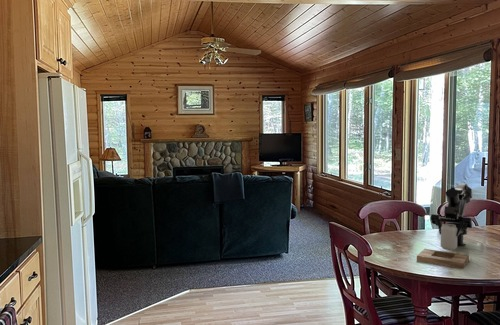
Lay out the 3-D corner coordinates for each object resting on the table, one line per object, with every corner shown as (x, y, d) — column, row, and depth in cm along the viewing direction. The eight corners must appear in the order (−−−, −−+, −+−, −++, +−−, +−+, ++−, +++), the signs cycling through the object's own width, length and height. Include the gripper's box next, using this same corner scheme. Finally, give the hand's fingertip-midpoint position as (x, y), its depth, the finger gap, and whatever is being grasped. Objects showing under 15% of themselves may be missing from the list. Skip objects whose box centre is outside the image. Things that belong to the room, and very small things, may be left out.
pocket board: (424, 253, 211) (424, 248, 211) (468, 260, 199) (468, 255, 199) (416, 260, 199) (416, 255, 199) (463, 268, 187) (463, 262, 187)
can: (459, 250, 206) (459, 226, 205) (442, 250, 207) (443, 226, 206) (454, 246, 213) (455, 223, 212) (438, 246, 214) (439, 222, 213)
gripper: (431, 198, 217) (425, 223, 209) (471, 201, 206) (467, 228, 198) (434, 210, 224) (429, 235, 216) (474, 214, 213) (470, 240, 205)
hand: (448, 235), depth 208 cm, fingers closed on can, 7 cm apart
